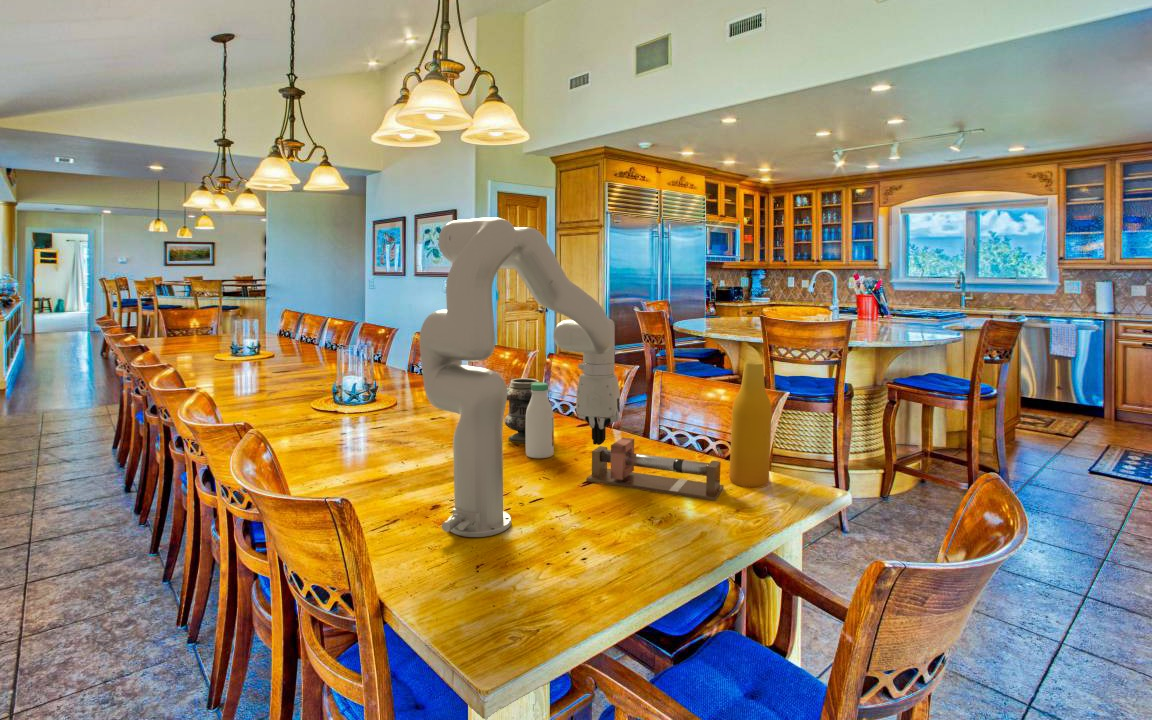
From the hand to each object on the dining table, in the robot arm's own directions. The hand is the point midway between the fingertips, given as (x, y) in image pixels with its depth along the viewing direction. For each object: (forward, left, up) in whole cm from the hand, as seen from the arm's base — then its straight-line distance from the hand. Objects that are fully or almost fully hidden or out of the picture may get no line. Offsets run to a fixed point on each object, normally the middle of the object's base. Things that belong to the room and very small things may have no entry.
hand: (598, 443), depth 154 cm
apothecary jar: (+23, +34, -9) cm, 41 cm away
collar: (0, -6, -7) cm, 9 cm away
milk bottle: (+10, +22, -9) cm, 25 cm away
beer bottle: (+12, -34, -9) cm, 37 cm away
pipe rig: (0, -14, -8) cm, 17 cm away
